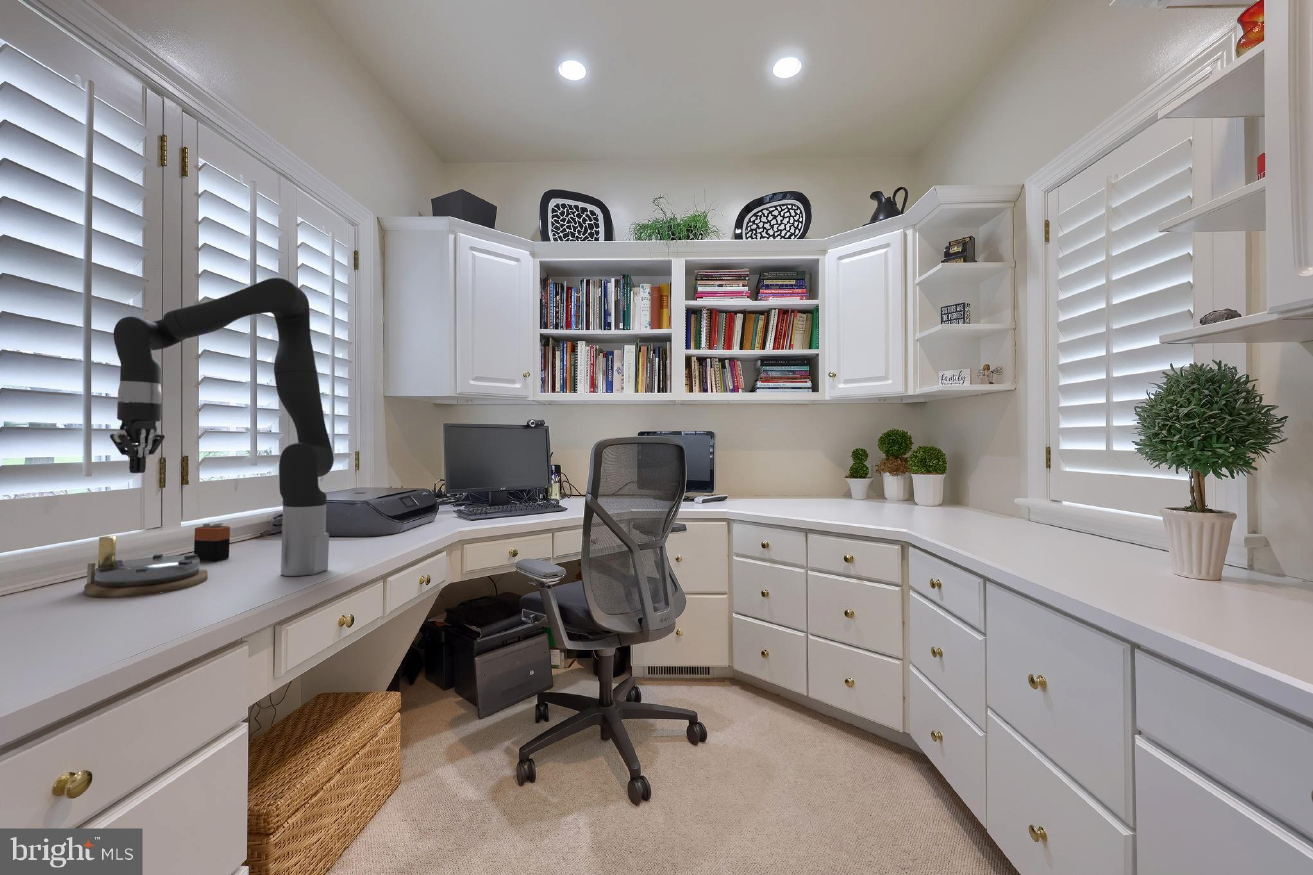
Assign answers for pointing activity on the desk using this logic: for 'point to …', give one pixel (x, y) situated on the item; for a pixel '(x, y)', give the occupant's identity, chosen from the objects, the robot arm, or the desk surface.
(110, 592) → the base plate
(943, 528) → the desk surface
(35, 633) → the desk surface
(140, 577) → the studded grey disc
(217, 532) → the battery
